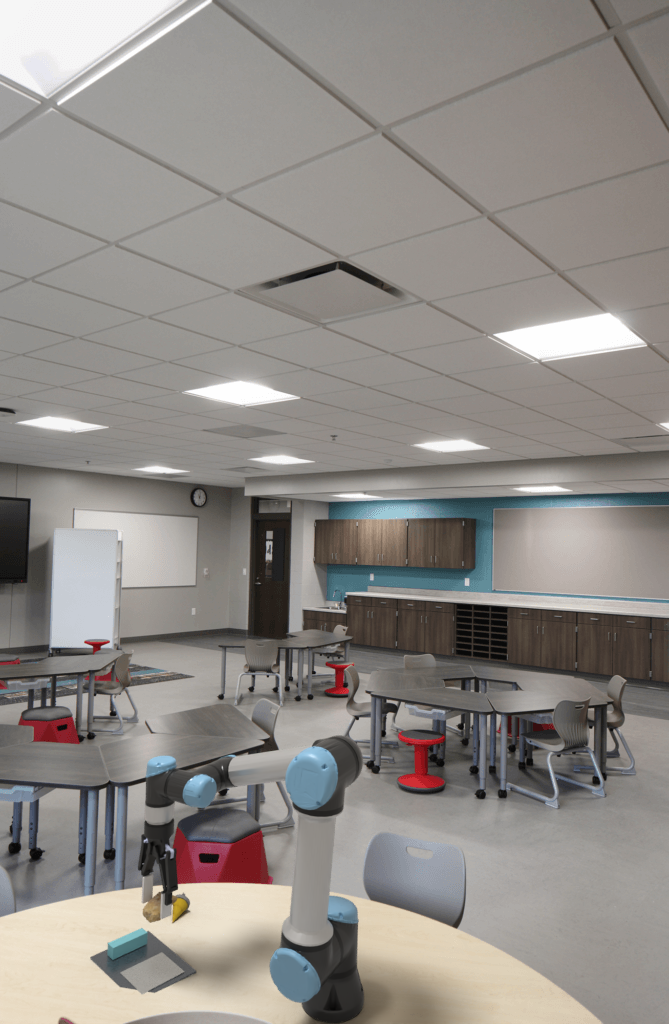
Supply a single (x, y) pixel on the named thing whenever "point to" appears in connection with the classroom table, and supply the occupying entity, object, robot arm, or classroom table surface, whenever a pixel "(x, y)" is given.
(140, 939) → the bar
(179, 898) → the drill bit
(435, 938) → the classroom table surface
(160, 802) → the robot arm
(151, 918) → the stone tool
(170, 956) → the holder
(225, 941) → the classroom table surface
